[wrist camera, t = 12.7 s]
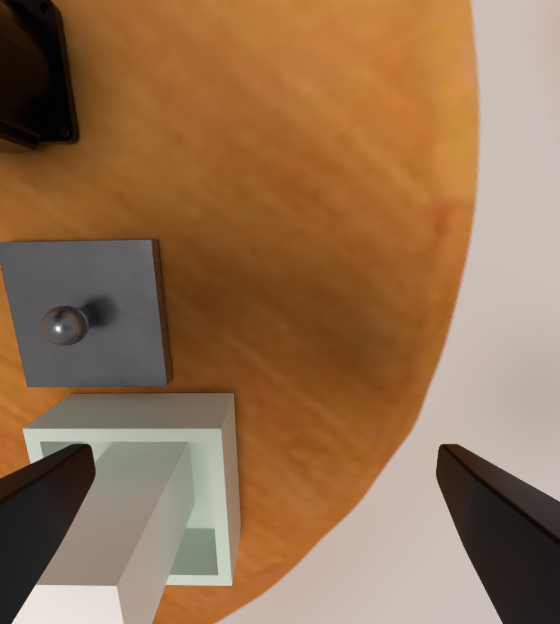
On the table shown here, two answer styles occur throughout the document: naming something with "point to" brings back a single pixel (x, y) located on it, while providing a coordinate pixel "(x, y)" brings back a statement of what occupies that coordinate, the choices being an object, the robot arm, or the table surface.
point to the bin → (165, 428)
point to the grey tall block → (119, 540)
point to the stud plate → (88, 312)
